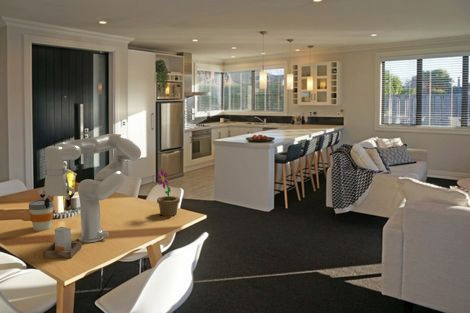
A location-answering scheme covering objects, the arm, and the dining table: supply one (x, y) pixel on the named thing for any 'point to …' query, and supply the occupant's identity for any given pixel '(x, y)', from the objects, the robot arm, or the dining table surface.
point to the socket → (62, 254)
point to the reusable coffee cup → (41, 214)
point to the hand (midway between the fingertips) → (58, 207)
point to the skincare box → (62, 239)
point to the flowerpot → (167, 199)
